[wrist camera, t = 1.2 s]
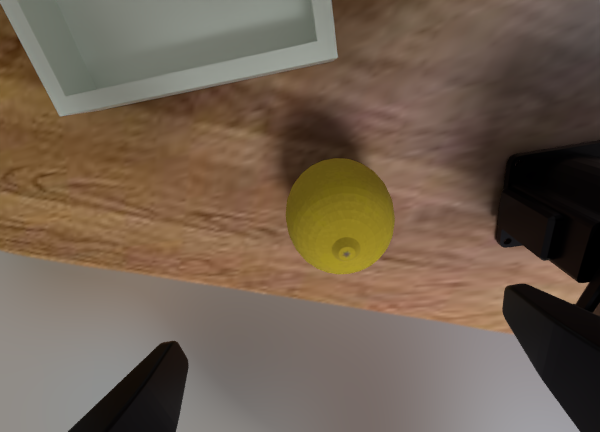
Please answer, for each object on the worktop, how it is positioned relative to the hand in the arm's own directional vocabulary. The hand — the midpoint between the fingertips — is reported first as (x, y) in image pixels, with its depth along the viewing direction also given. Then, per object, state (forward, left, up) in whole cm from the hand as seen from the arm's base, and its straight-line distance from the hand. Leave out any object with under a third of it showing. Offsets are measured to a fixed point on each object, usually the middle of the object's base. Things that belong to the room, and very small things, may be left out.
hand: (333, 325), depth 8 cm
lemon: (-1, +1, -12) cm, 12 cm away
